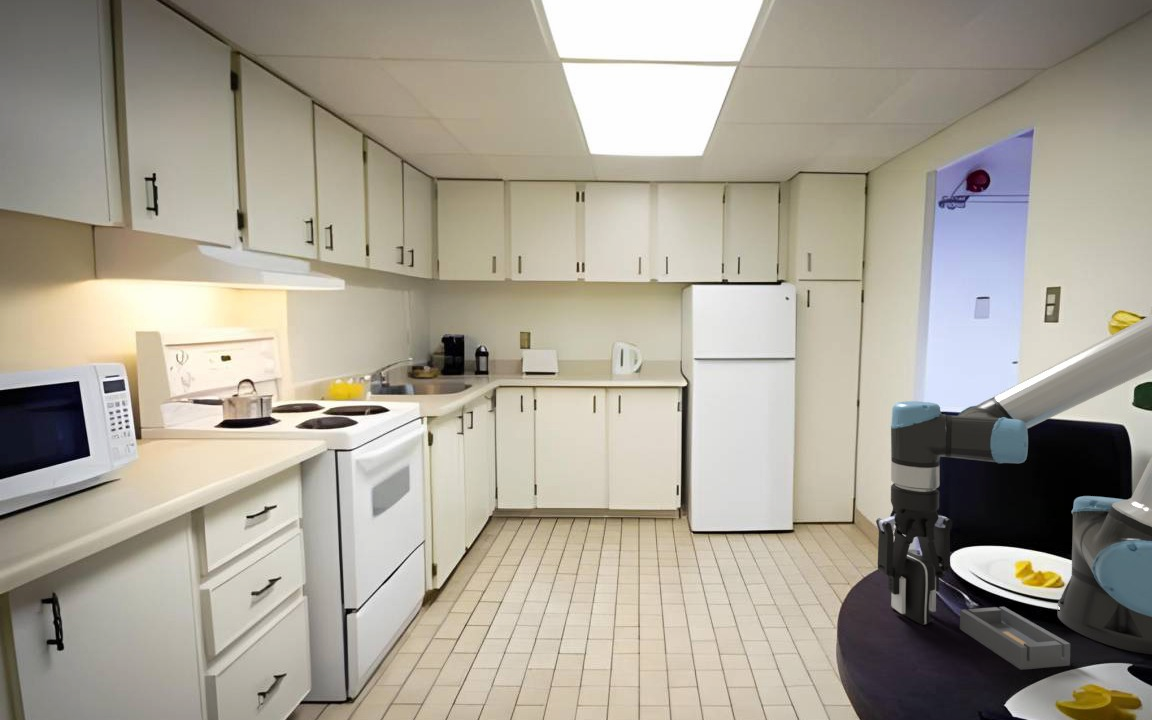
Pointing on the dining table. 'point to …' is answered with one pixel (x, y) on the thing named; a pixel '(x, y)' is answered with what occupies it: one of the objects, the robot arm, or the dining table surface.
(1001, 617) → the tray
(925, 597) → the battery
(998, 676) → the dining table surface
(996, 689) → the dining table surface
